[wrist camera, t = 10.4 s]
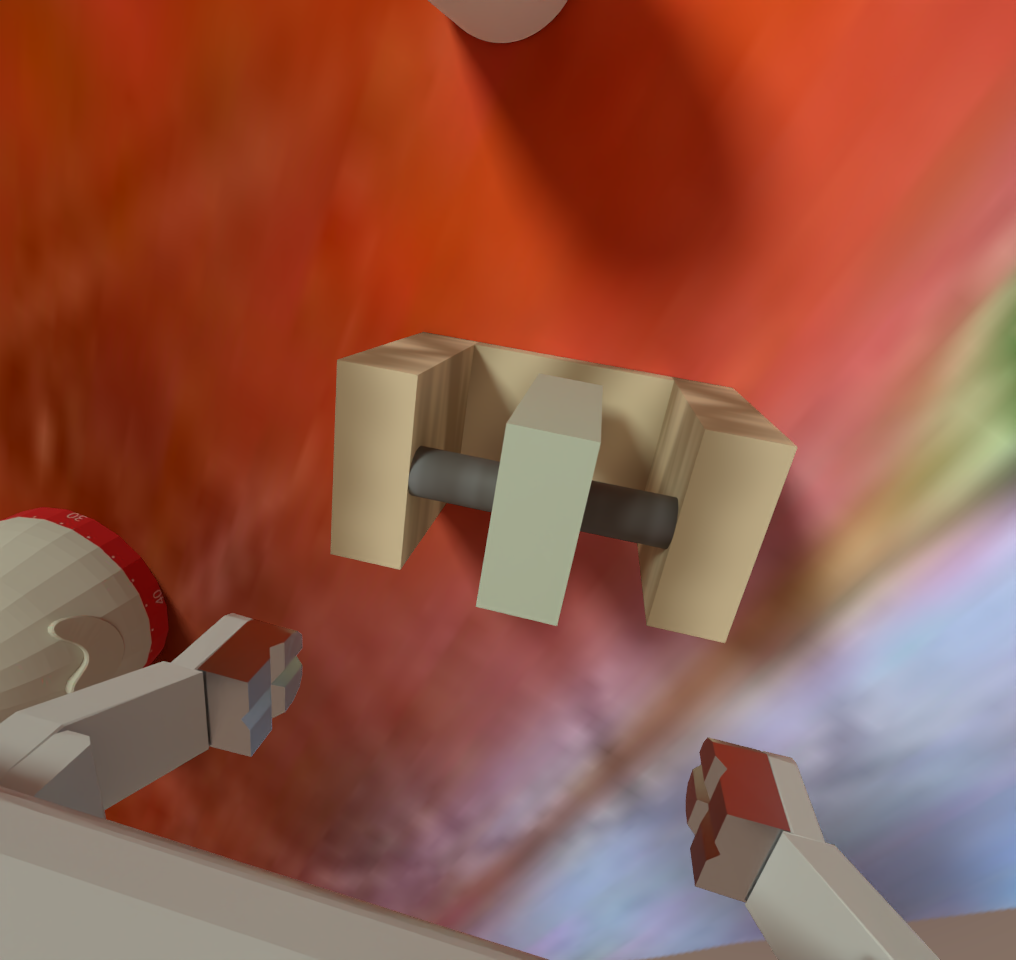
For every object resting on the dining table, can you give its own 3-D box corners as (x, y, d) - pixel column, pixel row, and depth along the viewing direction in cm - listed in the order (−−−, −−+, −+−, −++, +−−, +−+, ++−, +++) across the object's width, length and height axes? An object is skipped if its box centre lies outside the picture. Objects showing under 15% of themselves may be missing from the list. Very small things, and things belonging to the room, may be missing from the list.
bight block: (602, 385, 25) (600, 442, 17) (571, 520, 28) (557, 626, 20) (539, 373, 26) (506, 423, 17) (514, 507, 28) (476, 606, 20)
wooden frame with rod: (732, 387, 27) (797, 447, 18) (688, 530, 30) (725, 643, 21) (423, 332, 29) (337, 359, 20) (410, 472, 32) (330, 553, 23)
